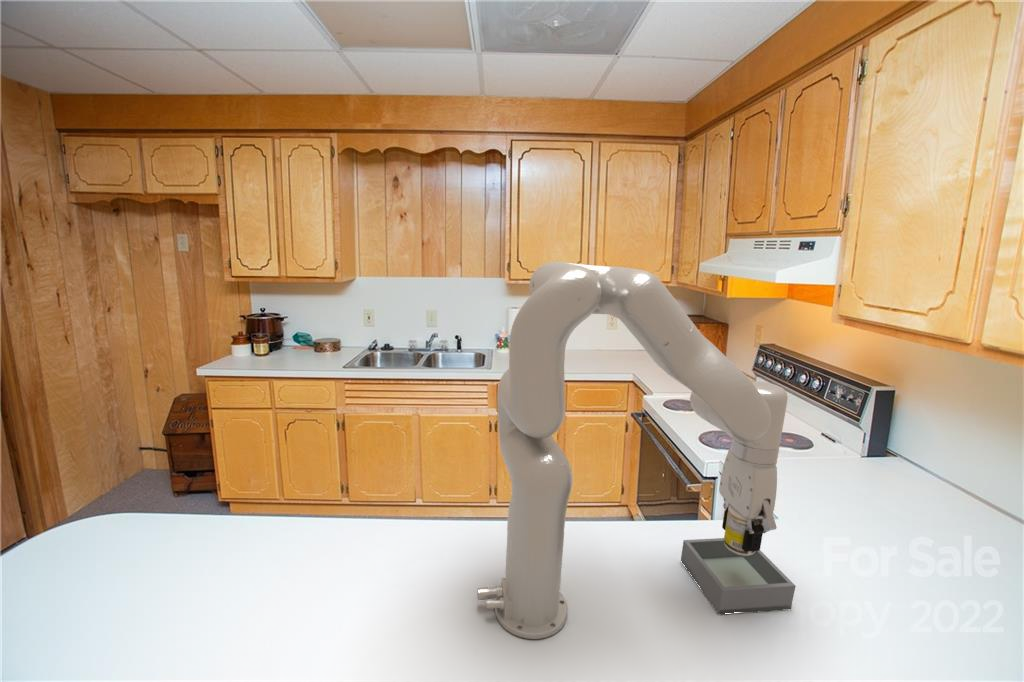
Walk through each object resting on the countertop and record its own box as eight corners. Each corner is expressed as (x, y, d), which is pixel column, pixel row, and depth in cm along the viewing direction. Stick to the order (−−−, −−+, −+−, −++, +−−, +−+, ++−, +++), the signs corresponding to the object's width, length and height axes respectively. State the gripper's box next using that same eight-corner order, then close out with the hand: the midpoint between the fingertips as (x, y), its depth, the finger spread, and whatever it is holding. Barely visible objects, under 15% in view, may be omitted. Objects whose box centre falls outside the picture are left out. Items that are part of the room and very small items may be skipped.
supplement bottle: (744, 538, 92) (752, 490, 90) (761, 557, 86) (770, 507, 84) (717, 539, 91) (724, 491, 89) (733, 558, 86) (741, 507, 84)
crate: (718, 615, 83) (722, 590, 82) (680, 561, 96) (683, 540, 95) (790, 609, 85) (795, 585, 84) (743, 558, 98) (746, 536, 97)
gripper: (709, 431, 92) (697, 514, 96) (766, 474, 76) (750, 572, 80) (744, 430, 93) (731, 512, 97) (808, 473, 77) (790, 569, 81)
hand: (740, 538), depth 88 cm, fingers closed on supplement bottle, 5 cm apart
